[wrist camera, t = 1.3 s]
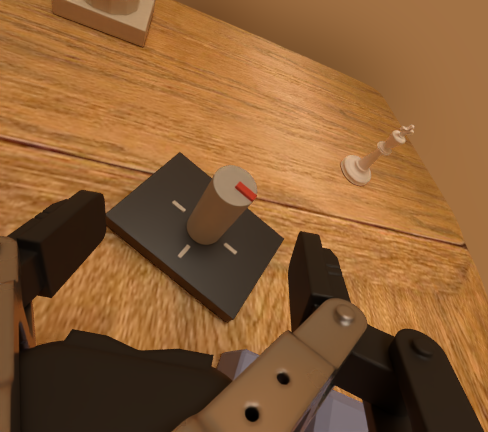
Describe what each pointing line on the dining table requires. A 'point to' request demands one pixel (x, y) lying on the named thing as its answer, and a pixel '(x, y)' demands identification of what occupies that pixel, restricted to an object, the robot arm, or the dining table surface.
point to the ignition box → (110, 16)
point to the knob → (221, 204)
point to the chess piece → (372, 157)
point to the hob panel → (184, 247)
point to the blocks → (330, 413)
